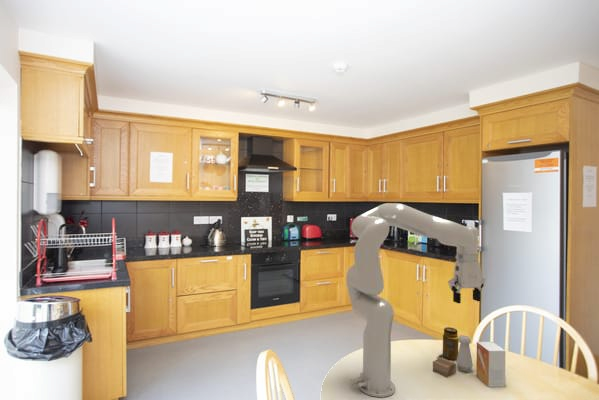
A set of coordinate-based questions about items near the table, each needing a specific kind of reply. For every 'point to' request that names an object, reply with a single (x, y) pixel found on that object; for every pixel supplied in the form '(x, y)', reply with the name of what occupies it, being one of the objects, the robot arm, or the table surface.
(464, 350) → the salt shaker
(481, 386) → the table surface
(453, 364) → the walnut block
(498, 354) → the small box
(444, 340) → the condiment
